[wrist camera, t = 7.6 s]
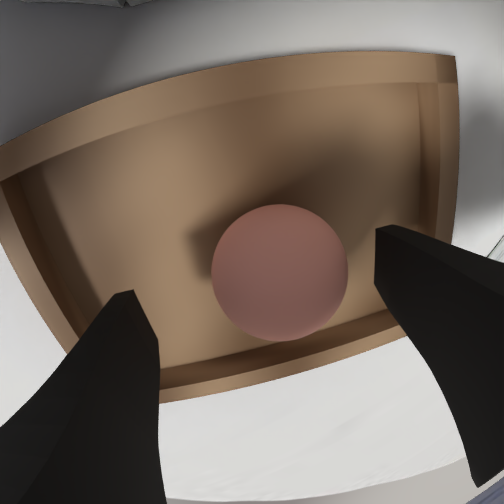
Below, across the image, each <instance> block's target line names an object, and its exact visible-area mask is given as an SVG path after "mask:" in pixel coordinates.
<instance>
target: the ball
mask: <svg viewBox="0 0 504 504" xmlns="http://www.w3.org/2000/svg"><path fill="white" fill-rule="evenodd" d="M211 277H212V286H213V290H214V294H215V297H216V299H217V301H218V304H219V306H220V307H221V309H222V310H223V312H224V313H225V315H226V316H227V317H228V318H229V319H230V320H231V321H232V322H233V324H234V325H236V326H237V327H239V328H240V329H241V330H243V331H244V332H246V333H248V334H250V335H252V336H254V337H257V338H260V339H264V340H268V341H290V340H296V339H299V338H302V337H305V336H307V335H309V334H312V333H313V332H315V331H317V330H318V329H320V328H321V327H322V326H324V325H325V324H326V323H327V322H328V321H329V320H330V319H331V318H332V316H333V315H334V314H335V313H336V311H337V310H338V308H339V306H340V304H341V302H342V300H343V298H344V295H345V292H346V288H347V283H348V262H347V258H346V254H345V250H344V248H343V245H342V243H341V241H340V239H339V237H338V236H337V234H336V233H335V232H334V230H333V229H332V228H331V227H330V226H329V225H328V224H327V223H326V222H325V221H324V220H323V219H322V218H320V217H319V216H317V215H316V214H314V213H312V212H310V211H308V210H306V209H303V208H300V207H297V206H292V205H285V204H275V205H267V206H263V207H259V208H256V209H254V210H252V211H250V212H247V213H246V214H244V215H242V216H241V217H239V218H238V219H237V220H236V221H234V222H233V223H232V224H231V225H230V226H229V227H228V229H227V230H226V231H225V233H224V234H223V235H222V237H221V239H220V240H219V242H218V244H217V247H216V249H215V252H214V256H213V261H212V267H211Z"/></svg>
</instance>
